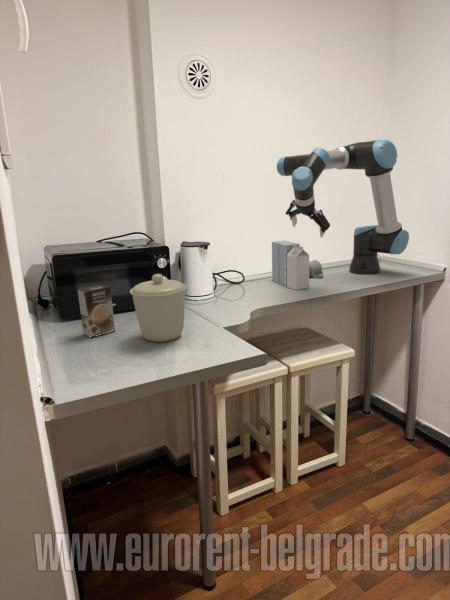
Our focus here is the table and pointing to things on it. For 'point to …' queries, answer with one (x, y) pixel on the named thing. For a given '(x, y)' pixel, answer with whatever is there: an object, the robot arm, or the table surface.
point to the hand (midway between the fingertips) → (308, 229)
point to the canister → (160, 308)
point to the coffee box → (96, 310)
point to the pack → (280, 260)
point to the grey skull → (315, 269)
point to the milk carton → (297, 268)
